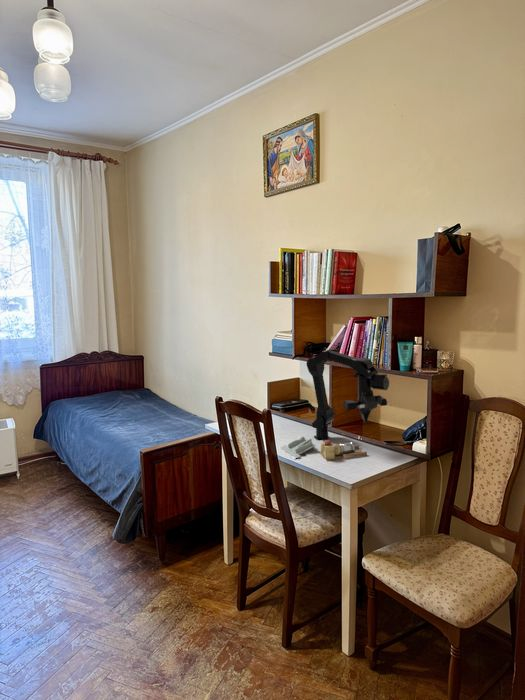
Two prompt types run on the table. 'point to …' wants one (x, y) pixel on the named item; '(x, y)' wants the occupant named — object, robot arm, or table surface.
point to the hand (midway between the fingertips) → (365, 421)
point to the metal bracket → (298, 447)
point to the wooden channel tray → (338, 452)
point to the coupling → (347, 448)
